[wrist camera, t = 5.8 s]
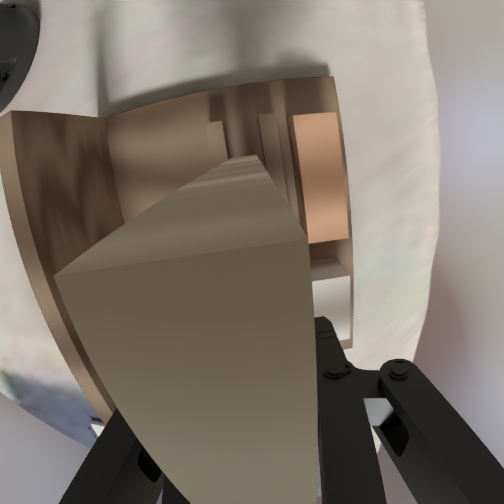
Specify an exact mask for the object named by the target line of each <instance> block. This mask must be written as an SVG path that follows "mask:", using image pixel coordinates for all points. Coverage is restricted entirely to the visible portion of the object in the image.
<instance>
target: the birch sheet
mask: <svg viewBox="0 0 504 504" xmlns="http://www.w3.org/2000/svg"><path fill="white" fill-rule="evenodd" d="M54 278H55V281H56V284H57V286H58V289H59V292H60V294H61V297H62V299H63V302H64V304H65V307H66V309H67V312H68V314H69V316H70V319H71V321H72V323H73V325H74V328H75V330H76V332H77V334H78V336H79V338H80V341H81V343H82V345H83V347H84V349H85V351H86V353H87V355H88V357H89V359H90V361H91V363H92V364H93V366H94V368H95V370H96V372H97V374H98V376H99V377H100V379H101V381H102V383H103V385H104V386H105V388H106V390H107V391H108V393H109V395H110V397H111V398H112V400H113V401H114V403H115V405H116V406H117V408H118V410H119V411H120V413H121V414H122V416H123V417H124V419H125V420H126V422H127V423H128V425H129V426H130V428H131V429H132V431H133V432H134V434H135V435H136V437H137V438H138V439H139V441H140V442H141V444H142V445H143V446H144V448H145V449H146V451H147V452H148V453H149V455H150V456H151V457H152V458H153V460H154V461H155V462H156V464H157V465H158V466H159V467H160V469H161V470H162V471H163V472H164V474H165V475H166V476H167V477H168V478H169V480H170V481H171V482H172V483H173V484H174V486H175V487H176V488H177V489H178V490H179V491H180V492H181V494H182V495H183V496H184V497H185V498H186V499H187V500H188V501H189V502H190V503H191V504H316V490H317V447H318V413H317V368H316V343H315V323H314V307H313V292H312V278H311V266H310V254H309V243H308V238H307V236H306V234H305V233H304V231H303V229H302V227H301V226H300V224H299V222H298V221H297V219H296V217H295V216H294V214H293V212H292V211H291V209H290V208H289V206H288V204H287V203H286V201H285V199H284V198H283V196H282V194H281V193H280V191H279V190H278V188H277V186H276V185H275V183H274V182H273V180H272V178H271V177H270V175H269V174H268V172H267V171H266V169H265V167H264V166H263V164H262V163H261V161H260V160H259V158H258V156H257V155H249V156H242V157H236V158H231V159H229V160H227V161H225V162H224V163H222V164H220V165H218V166H217V167H215V168H213V169H211V170H210V171H208V172H206V173H204V174H203V175H201V176H199V177H198V178H196V179H194V180H193V181H191V182H189V183H188V184H186V185H184V186H183V187H181V188H179V189H178V190H176V191H174V192H173V193H171V194H170V195H168V196H166V197H165V198H163V199H162V200H160V201H159V202H157V203H155V204H154V205H152V206H151V207H149V208H148V209H146V210H145V211H143V212H142V213H140V214H139V215H137V216H136V217H134V218H133V219H131V220H130V221H128V222H127V223H125V224H124V225H122V226H121V227H119V228H118V229H116V230H115V231H114V232H112V233H111V234H109V235H108V236H106V237H105V238H104V239H102V240H101V241H99V242H98V243H97V244H95V245H94V246H93V247H91V248H90V249H88V250H87V251H86V252H84V253H83V254H82V255H80V256H79V257H78V258H76V259H75V260H74V261H72V262H71V263H70V264H68V265H67V266H66V267H65V268H63V269H62V270H61V271H59V272H58V273H57V274H56V275H54Z"/></svg>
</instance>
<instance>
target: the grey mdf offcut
mask: <svg viewBox="0 0 504 504" xmlns="http://www.w3.org/2000/svg"><path fill="white" fill-rule="evenodd" d="M310 266H311V278H312V292H313V307H314V317H320V316H325V317H326V318H327V319H329V320H330V321H331V322H332V324H333V327H334V329H335V332H336V334H337V337H338V339H339V340H345V339H350V275H349V273H348V272H347V271H346V269H345V268H344V266H343V265H342V264H341V262H340V261H339V259H338V258H337V257H335V258H328V259H321V260H315V261H310Z"/></svg>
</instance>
